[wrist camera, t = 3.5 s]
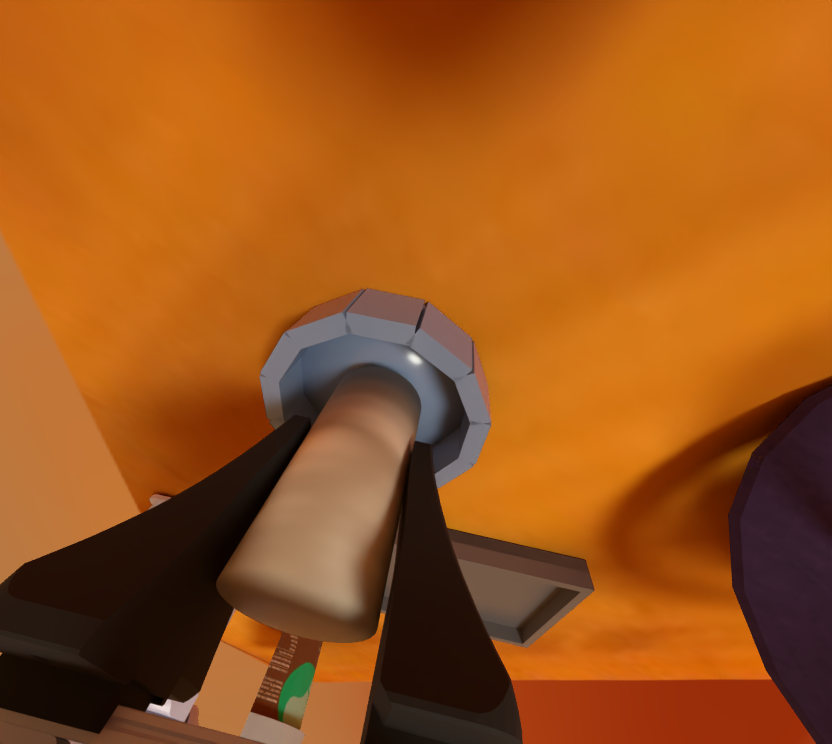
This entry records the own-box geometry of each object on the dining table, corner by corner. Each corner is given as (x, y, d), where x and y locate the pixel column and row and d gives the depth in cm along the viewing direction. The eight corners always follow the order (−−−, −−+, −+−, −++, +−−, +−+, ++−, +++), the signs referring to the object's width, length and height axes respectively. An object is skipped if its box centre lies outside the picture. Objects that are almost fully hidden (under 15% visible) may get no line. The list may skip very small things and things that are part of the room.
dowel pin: (336, 425, 15) (233, 620, 9) (336, 358, 13) (197, 551, 6) (414, 442, 15) (371, 654, 8) (428, 377, 13) (384, 596, 6)
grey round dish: (298, 434, 18) (275, 468, 16) (281, 271, 12) (244, 291, 10) (458, 469, 17) (457, 509, 15) (513, 317, 12) (522, 347, 10)
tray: (331, 576, 28) (323, 598, 26) (329, 501, 21) (318, 526, 20) (523, 622, 27) (527, 647, 26) (585, 560, 21) (594, 590, 19)
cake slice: (324, 651, 42) (288, 768, 34) (281, 637, 41) (234, 753, 33) (342, 625, 35) (303, 765, 27) (291, 609, 35) (236, 746, 26)
